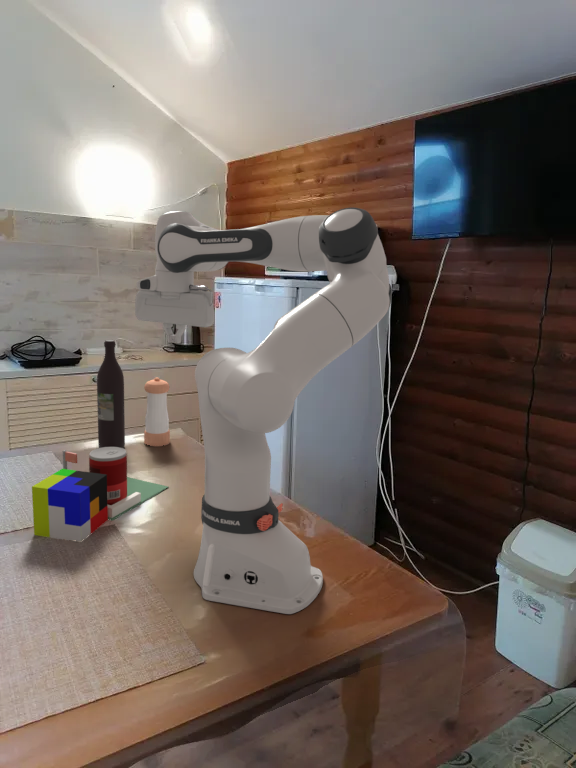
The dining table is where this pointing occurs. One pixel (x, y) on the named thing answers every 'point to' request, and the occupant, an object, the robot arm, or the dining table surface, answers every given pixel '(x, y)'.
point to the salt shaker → (157, 413)
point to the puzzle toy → (70, 504)
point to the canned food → (111, 470)
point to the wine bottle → (110, 400)
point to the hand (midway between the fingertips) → (174, 342)
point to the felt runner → (141, 491)
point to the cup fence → (112, 509)
